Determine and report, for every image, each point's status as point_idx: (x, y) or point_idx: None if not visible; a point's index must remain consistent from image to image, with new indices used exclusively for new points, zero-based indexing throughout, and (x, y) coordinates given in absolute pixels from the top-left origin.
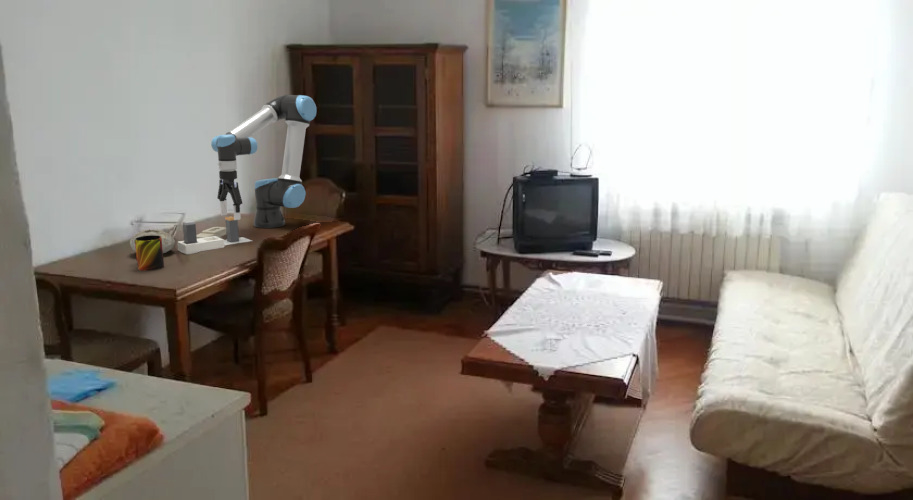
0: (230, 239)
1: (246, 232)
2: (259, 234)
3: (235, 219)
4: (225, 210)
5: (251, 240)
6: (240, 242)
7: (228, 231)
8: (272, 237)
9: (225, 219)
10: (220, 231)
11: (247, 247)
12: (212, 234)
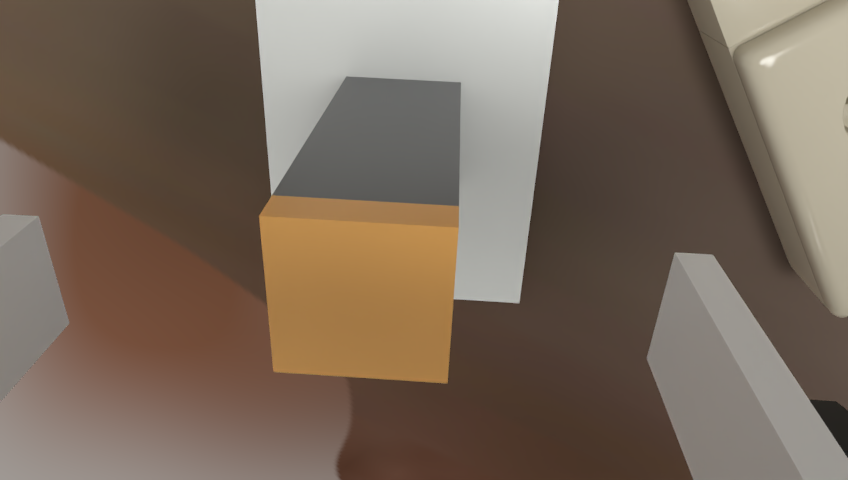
0: (342, 87)
1: None
2: (540, 461)
3: (1, 233)
4: (682, 403)
5: None
6: (278, 162)
7: (375, 122)
8: (341, 470)
9: (454, 205)
10: (777, 173)
11: (51, 120)
12: (733, 4)
